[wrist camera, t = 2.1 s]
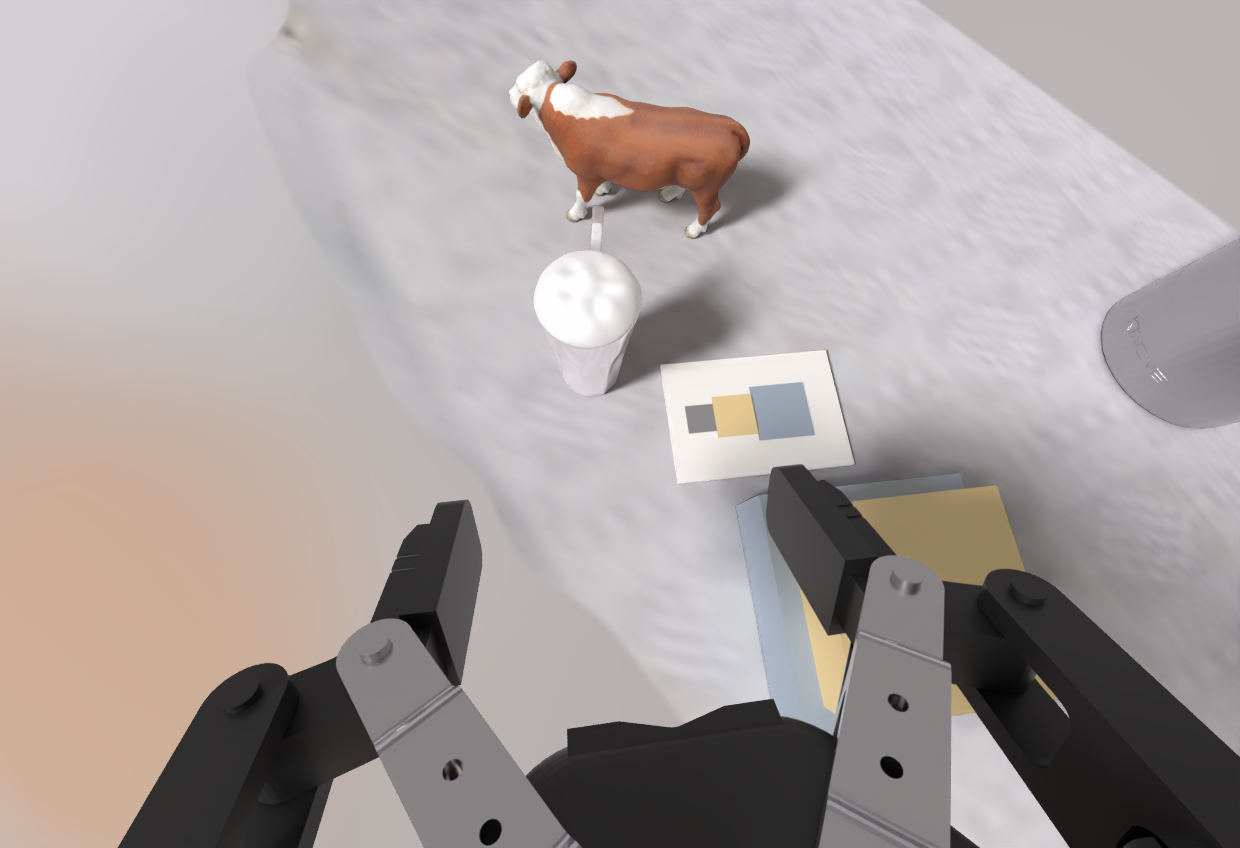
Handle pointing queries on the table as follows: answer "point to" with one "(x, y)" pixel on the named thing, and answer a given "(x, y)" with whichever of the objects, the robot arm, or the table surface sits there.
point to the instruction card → (753, 416)
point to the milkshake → (588, 313)
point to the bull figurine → (631, 142)
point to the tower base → (786, 599)
